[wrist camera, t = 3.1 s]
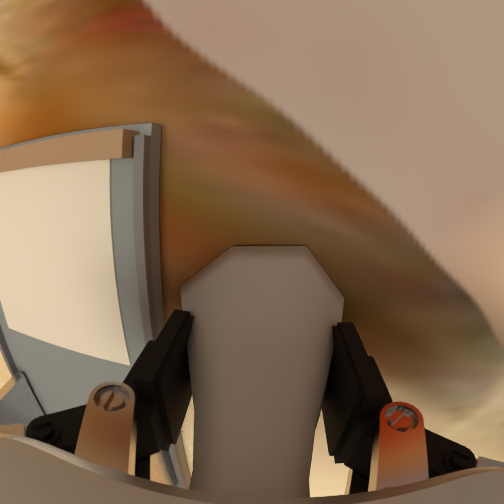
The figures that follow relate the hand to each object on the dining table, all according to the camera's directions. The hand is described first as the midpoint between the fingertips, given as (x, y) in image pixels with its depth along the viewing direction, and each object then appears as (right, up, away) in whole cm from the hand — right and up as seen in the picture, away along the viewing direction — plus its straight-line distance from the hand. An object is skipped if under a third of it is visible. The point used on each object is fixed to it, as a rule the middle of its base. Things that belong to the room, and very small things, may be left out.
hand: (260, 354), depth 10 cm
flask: (0, +1, +3) cm, 3 cm away
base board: (-11, -3, +4) cm, 12 cm away
